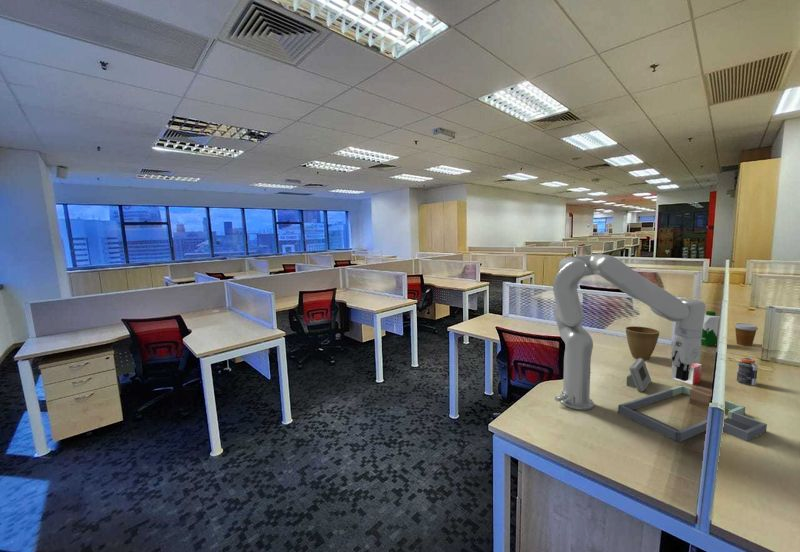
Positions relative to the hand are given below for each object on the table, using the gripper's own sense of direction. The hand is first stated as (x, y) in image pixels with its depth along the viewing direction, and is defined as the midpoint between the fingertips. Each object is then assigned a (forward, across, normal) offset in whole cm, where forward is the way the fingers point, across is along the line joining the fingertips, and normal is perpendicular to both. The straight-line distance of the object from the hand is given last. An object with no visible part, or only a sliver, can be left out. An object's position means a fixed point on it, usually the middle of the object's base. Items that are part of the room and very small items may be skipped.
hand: (681, 379), depth 120 cm
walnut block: (+13, +14, -1) cm, 19 cm away
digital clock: (+14, +10, +20) cm, 26 cm away
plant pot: (+13, +45, +41) cm, 62 cm away
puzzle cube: (+12, +35, +15) cm, 40 cm away
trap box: (+13, 0, -5) cm, 14 cm away
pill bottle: (+11, +54, +2) cm, 55 cm away
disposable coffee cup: (+9, +118, +28) cm, 121 cm away
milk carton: (+10, +100, +38) cm, 107 cm away
